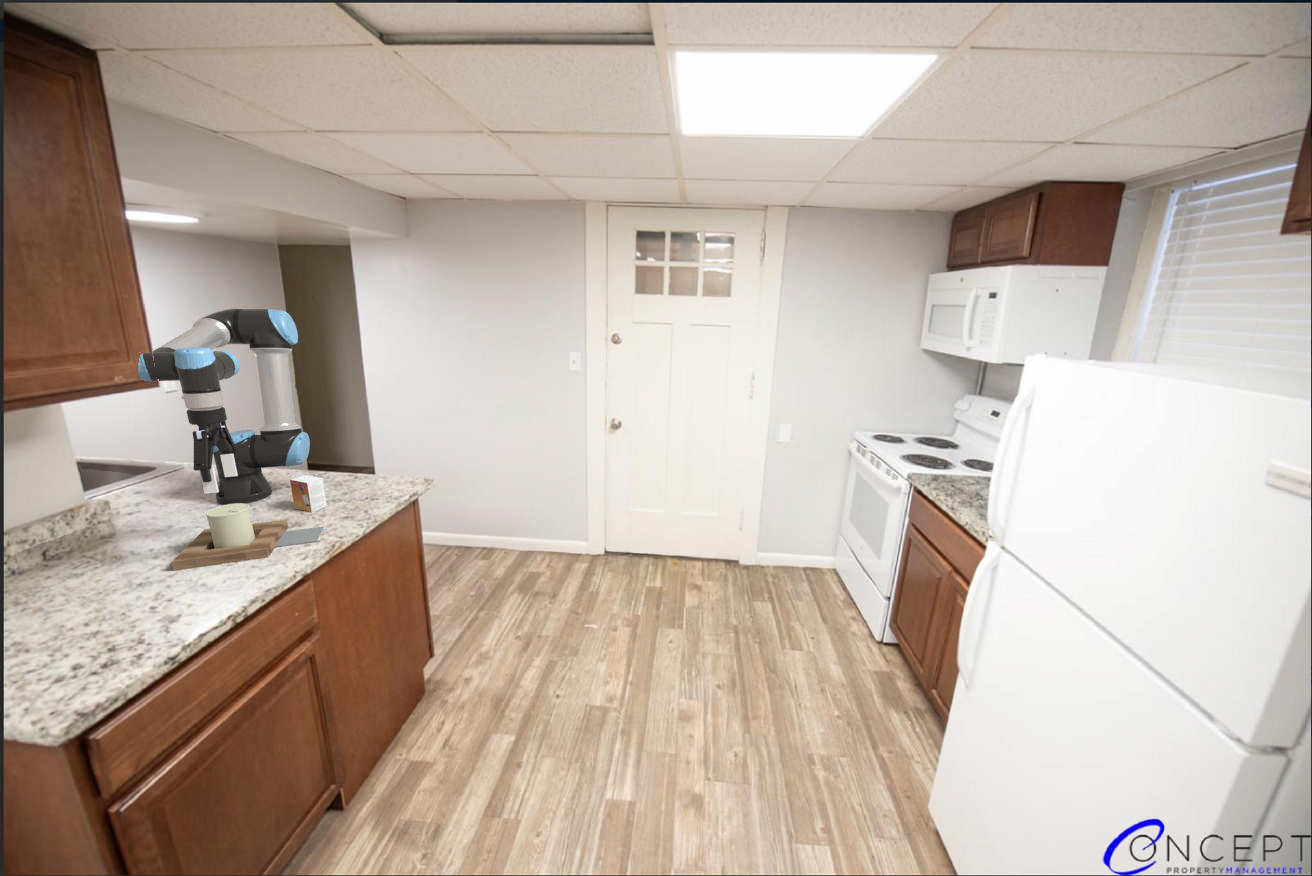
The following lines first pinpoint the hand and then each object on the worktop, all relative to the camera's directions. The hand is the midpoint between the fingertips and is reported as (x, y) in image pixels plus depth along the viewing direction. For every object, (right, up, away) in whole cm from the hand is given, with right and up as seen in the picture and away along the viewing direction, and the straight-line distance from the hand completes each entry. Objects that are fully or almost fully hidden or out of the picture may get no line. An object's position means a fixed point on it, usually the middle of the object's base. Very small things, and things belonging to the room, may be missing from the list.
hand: (222, 484), depth 134 cm
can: (-1, -19, +5) cm, 19 cm away
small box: (+2, -11, +32) cm, 34 cm away
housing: (-1, -18, +5) cm, 19 cm away
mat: (+13, -17, +12) cm, 24 cm away
